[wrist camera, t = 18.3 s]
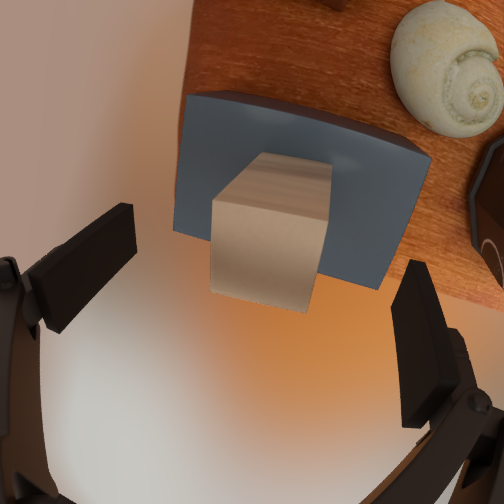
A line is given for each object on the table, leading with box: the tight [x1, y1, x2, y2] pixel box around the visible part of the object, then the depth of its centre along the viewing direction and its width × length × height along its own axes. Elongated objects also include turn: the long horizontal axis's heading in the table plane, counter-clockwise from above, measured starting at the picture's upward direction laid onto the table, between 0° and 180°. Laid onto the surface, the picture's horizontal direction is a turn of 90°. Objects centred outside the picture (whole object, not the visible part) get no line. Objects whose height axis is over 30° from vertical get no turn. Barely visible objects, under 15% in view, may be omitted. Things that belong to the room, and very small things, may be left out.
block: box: [210, 152, 332, 313], centre depth 19 cm, size 5×5×10 cm
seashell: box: [390, 0, 504, 138], centre depth 20 cm, size 13×8×10 cm
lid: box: [173, 94, 432, 290], centre depth 24 cm, size 12×18×1 cm, turn 79°
